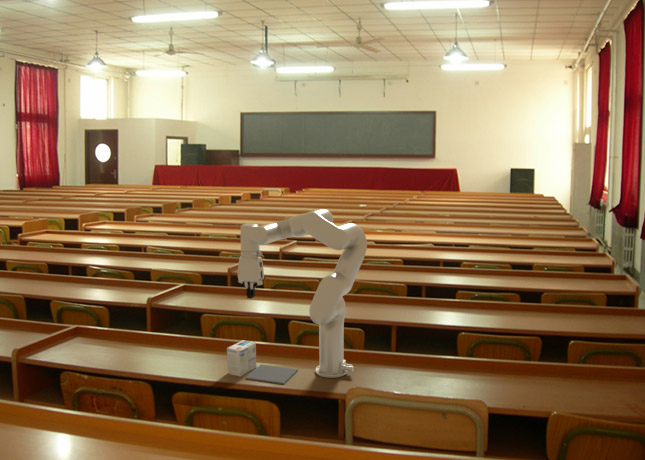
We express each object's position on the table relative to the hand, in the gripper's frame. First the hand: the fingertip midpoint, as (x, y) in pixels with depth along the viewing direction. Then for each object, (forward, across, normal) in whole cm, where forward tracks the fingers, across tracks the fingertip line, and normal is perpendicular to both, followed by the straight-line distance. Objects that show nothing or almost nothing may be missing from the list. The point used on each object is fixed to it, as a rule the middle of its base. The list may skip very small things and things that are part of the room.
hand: (250, 297), depth 256 cm
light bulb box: (+26, -3, +14) cm, 30 cm away
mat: (+26, -16, +14) cm, 33 cm away
